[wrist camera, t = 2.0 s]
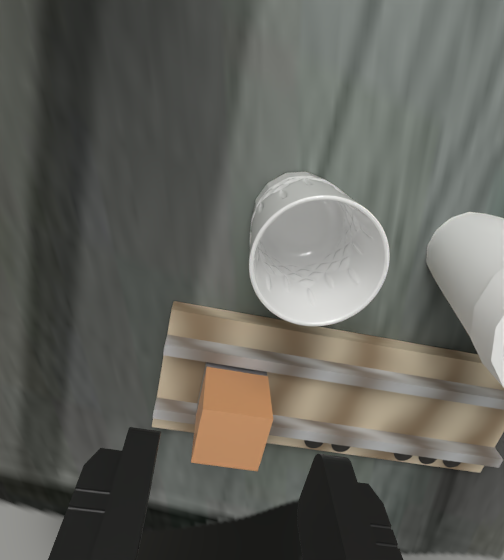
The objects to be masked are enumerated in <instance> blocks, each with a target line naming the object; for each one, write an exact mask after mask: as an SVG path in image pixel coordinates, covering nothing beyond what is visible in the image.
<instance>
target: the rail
mask: <svg viewBox="0 0 504 560" xmlns="http://www.w3.org/2000/svg"><path fill="white" fill-rule="evenodd" d="M163 355H164V358H163V363H162V369H161V375H160V381H159V387H158V393H157V399H156V403H155V407H154V412H153V423H152V427H156V428H164V429H171V430H178V431H185V432H192V433H194V430H195V420H196V413H197V403H198V397H199V393H200V388H201V383H202V379H203V374H204V369H205V365H206V362H209V363H215V364H221V365H227V366H234V367H240V368H246V369H252V370H259V371H265V372H267V376H268V379H269V388H270V396H271V404H272V412H273V422H272V425H271V429H270V432H269V435H268V439H267V442H266V443H271V444H278V445H285V446H292V447H300V448H307V449H314V450H321V451H328V452H335V453H343V454H350V455H357V456H364V457H371V458H378V459H385V460H393V461H400V462H407V463H414V464H421V465H428V466H436V467H443V468H450V469H457V470H464V471H471V472H478V473H480V472H481V470H482V469H483V467H484V466H491V467H498V468H499V466H500V464H501V463H502V461H503V459H502V457H501V456H500V454H499V453H498V452H497V450H496V449H495V446H496V444H497V442H498V441H499V439H500V437H501V435H502V434H503V432H504V387H503V386H502V385H501V384H500V383H499V382H498V381H497V379H496V378H495V377H494V376H493V375H492V374H491V373H490V371H489V370H488V369H487V368H486V367H485V366H484V365H483V363H482V362H481V359H480V357H479V355H478V354H473V353H467V352H461V351H456V350H450V349H444V348H439V347H433V346H427V345H422V344H416V343H410V342H404V341H399V340H393V339H387V338H382V337H376V336H370V335H365V334H359V333H353V332H347V331H342V330H336V329H330V328H325V327H319V326H302V325H297V324H294V323H290V322H288V321H285V320H279V319H273V318H268V317H262V316H256V315H251V314H245V313H239V312H234V311H228V310H222V309H216V308H211V307H205V306H199V305H194V304H188V303H182V302H177V301H174V302H173V306H172V310H171V316H170V322H169V328H168V334H167V338H166V342H165V347H164V353H163Z"/></svg>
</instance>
